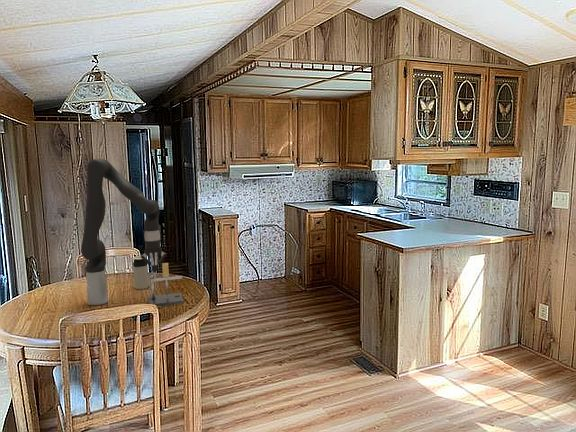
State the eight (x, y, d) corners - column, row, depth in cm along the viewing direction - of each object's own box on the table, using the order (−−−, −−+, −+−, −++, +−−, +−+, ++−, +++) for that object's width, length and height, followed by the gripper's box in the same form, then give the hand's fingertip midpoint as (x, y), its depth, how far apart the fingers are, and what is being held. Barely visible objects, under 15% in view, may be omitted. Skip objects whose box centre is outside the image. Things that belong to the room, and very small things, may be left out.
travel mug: (141, 290, 253) (138, 259, 250) (131, 288, 257) (129, 257, 255) (152, 286, 260) (149, 256, 257) (142, 284, 264) (140, 254, 261)
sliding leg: (164, 298, 231) (162, 265, 228) (164, 296, 235) (162, 263, 232) (170, 297, 232) (168, 264, 229) (170, 295, 236) (168, 262, 233)
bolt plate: (148, 307, 224) (146, 279, 222) (149, 298, 238) (147, 272, 236) (183, 303, 229) (182, 276, 227) (182, 295, 242) (181, 269, 240)
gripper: (138, 241, 222) (141, 275, 224) (165, 239, 225) (168, 272, 228) (139, 238, 229) (141, 271, 232) (165, 236, 233) (168, 268, 235)
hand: (155, 271), depth 230 cm, fingers closed
